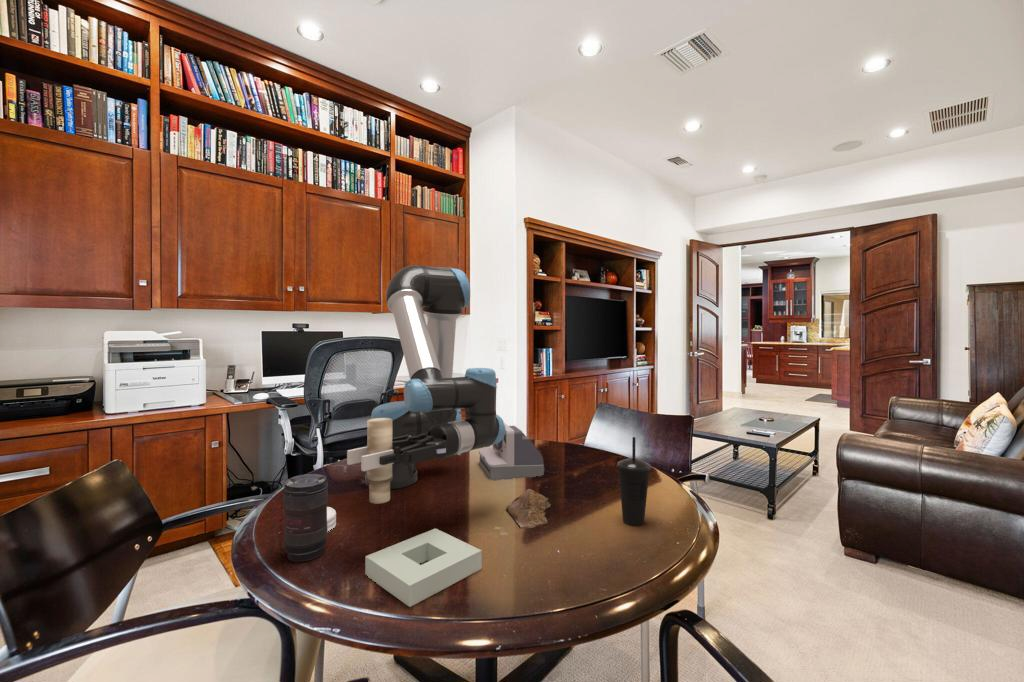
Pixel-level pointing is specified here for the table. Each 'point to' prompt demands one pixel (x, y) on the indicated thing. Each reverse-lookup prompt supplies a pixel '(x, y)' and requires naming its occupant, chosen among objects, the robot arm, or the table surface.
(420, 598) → the board
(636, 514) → the drinking cup
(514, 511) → the wooden fragment
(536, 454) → the instant camera
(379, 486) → the leg
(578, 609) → the table surface
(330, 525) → the coaster
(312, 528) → the camera lens
